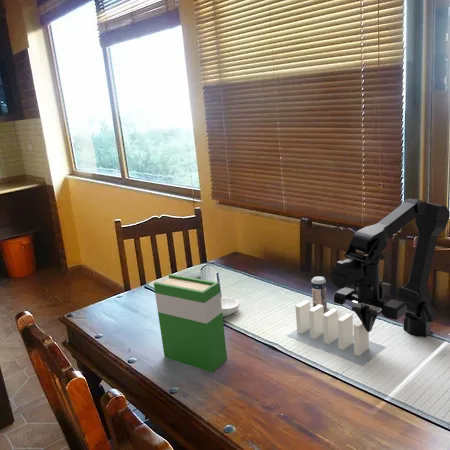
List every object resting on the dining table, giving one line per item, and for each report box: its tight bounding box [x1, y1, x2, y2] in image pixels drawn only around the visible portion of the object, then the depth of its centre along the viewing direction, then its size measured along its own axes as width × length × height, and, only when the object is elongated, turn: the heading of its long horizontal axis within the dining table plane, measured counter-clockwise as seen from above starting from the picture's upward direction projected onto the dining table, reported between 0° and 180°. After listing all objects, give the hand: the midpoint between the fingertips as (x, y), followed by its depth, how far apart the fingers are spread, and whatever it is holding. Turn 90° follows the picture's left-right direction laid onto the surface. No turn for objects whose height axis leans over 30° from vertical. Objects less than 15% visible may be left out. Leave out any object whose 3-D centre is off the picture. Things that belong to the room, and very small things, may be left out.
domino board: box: [286, 329, 386, 367], centre depth 137 cm, size 26×12×1 cm, turn 43°
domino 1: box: [295, 299, 311, 334], centre depth 143 cm, size 2×5×9 cm, turn 133°
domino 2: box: [309, 304, 325, 339], centre depth 140 cm, size 2×5×9 cm, turn 133°
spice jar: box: [310, 275, 328, 312], centre depth 156 cm, size 5×5×12 cm
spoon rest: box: [221, 297, 240, 318], centre depth 159 cm, size 24×12×7 cm, turn 133°
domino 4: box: [338, 312, 354, 350], centre depth 132 cm, size 2×5×9 cm, turn 133°
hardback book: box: [153, 273, 228, 374], centre depth 133 cm, size 18×7×24 cm, turn 56°
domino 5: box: [353, 319, 370, 356], centre depth 129 cm, size 2×5×9 cm, turn 134°
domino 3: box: [323, 308, 339, 344], centre depth 136 cm, size 2×5×9 cm, turn 133°
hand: (368, 331), depth 126 cm, fingers closed
